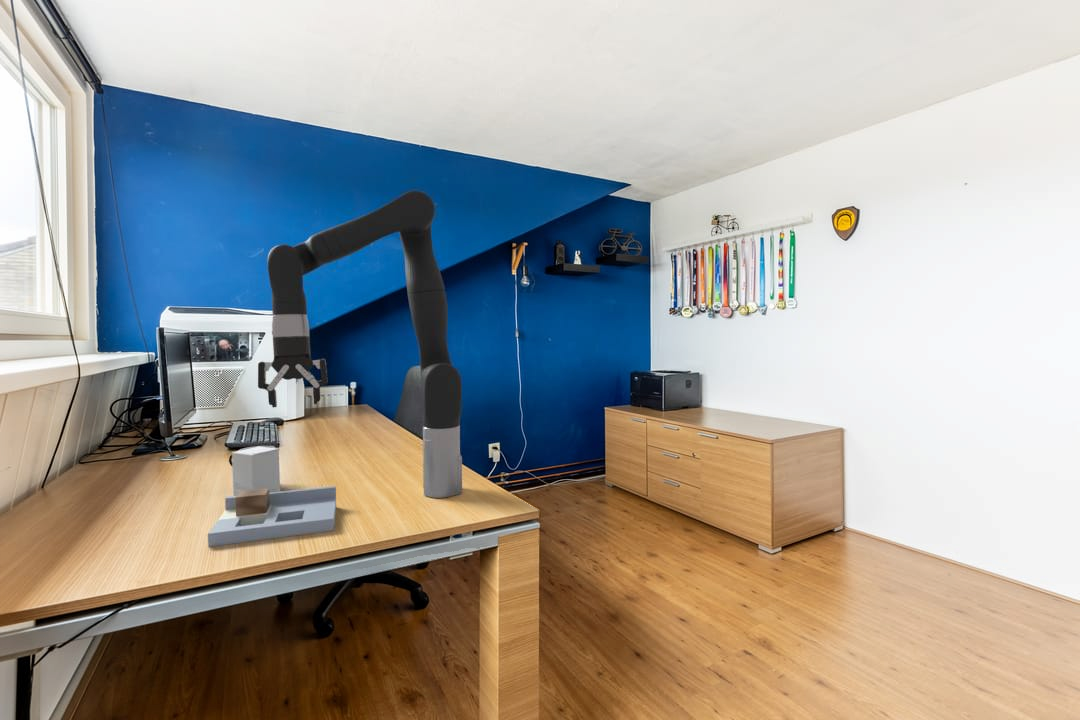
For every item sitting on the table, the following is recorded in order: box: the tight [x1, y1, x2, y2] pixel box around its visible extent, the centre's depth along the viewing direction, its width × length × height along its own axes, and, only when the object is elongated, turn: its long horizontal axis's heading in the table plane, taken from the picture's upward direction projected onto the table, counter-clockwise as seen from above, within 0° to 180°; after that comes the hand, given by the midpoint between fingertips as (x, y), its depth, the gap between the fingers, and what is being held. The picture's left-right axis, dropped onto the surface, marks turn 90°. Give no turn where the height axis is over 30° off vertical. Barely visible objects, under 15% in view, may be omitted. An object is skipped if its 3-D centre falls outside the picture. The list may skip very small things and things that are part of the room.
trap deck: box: [207, 485, 337, 547], centre depth 104 cm, size 22×15×5 cm
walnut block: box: [235, 488, 269, 516], centre depth 105 cm, size 6×4×4 cm
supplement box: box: [231, 445, 281, 496], centre depth 119 cm, size 7×7×13 cm
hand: (295, 405), depth 113 cm, fingers open, 8 cm apart
